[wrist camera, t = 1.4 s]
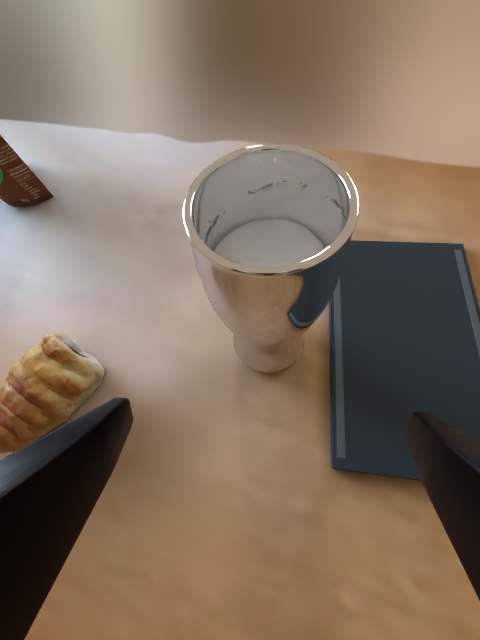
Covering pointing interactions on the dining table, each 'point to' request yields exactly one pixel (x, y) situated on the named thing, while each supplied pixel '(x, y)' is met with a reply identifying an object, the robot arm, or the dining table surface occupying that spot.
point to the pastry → (45, 390)
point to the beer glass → (270, 244)
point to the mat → (401, 351)
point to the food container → (19, 180)
